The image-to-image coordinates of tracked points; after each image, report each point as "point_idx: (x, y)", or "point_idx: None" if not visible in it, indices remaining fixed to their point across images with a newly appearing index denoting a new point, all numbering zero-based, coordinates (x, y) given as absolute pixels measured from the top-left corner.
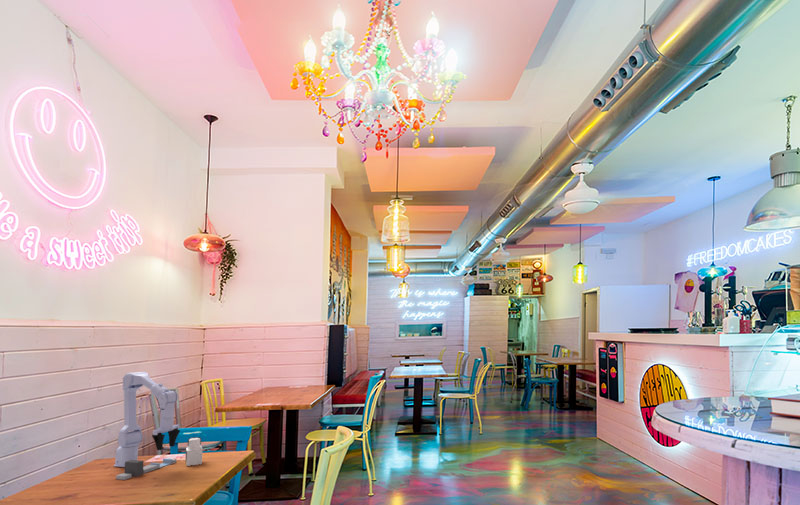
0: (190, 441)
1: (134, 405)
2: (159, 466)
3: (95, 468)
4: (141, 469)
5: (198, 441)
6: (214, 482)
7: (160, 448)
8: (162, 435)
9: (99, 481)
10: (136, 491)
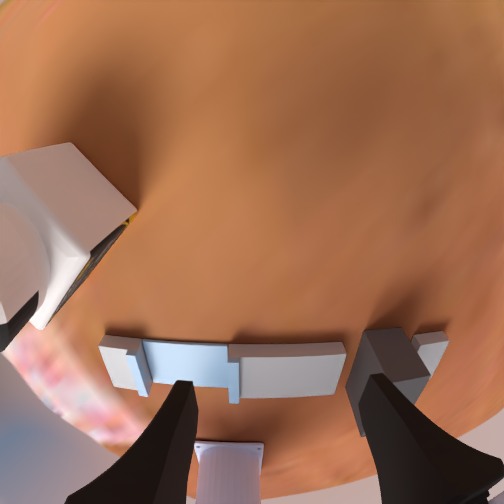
0: (3, 291)
1: None
2: (230, 349)
3: (288, 482)
4: (383, 348)
5: None
6: None
7: (393, 384)
8: (499, 475)
9: (440, 387)
10: None
